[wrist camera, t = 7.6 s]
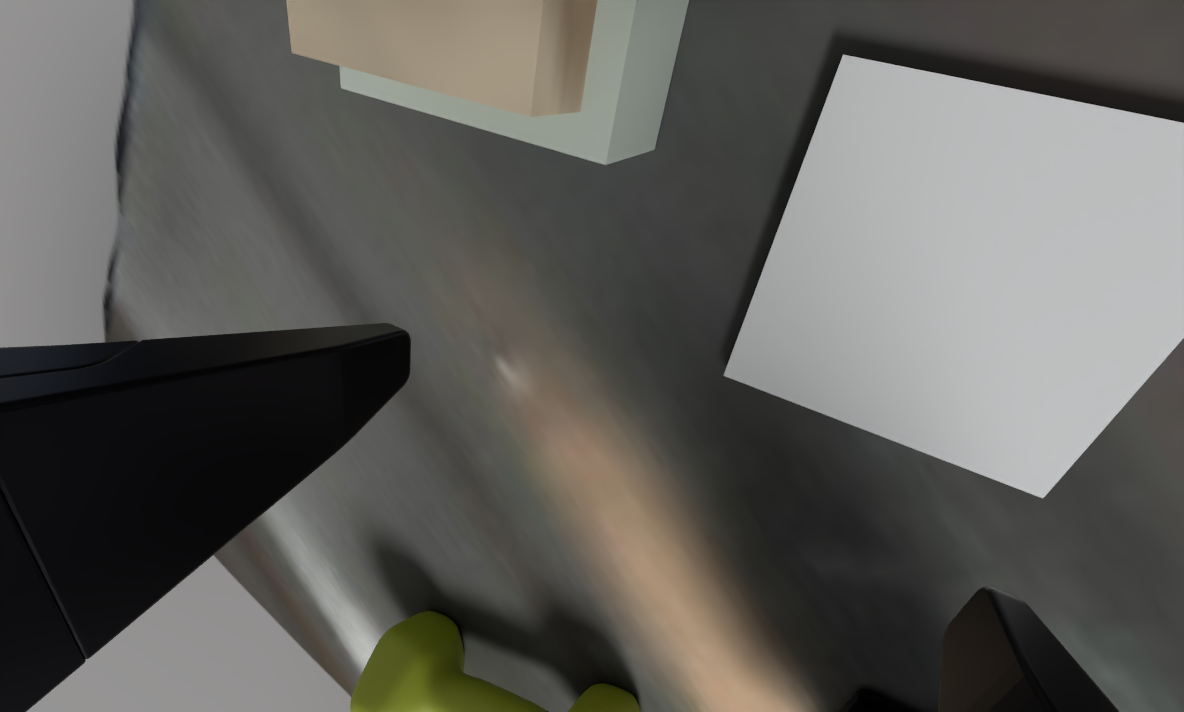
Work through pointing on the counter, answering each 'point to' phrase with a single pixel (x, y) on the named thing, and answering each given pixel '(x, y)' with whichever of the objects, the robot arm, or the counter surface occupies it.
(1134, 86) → the counter surface
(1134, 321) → the mat
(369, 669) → the dumbbell
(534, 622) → the counter surface
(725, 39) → the counter surface
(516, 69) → the lid
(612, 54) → the dish
